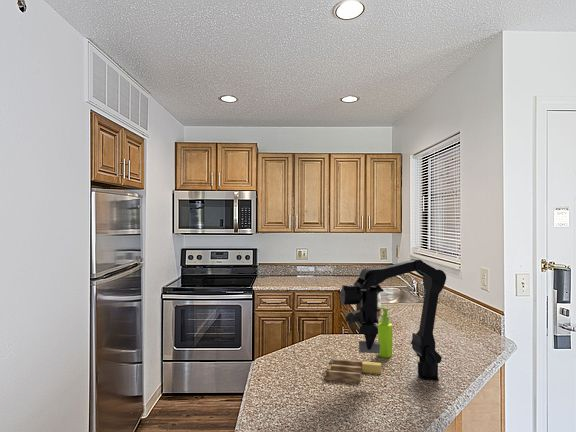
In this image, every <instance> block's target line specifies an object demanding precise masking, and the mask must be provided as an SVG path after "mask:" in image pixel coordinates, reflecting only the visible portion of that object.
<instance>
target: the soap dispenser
mask: <svg viewBox="0 0 576 432" xmlns="http://www.w3.org/2000/svg"><path fill="white" fill-rule="evenodd" d="M378 309H381V310H382V311H383V313H382V315H380V320H381V321H380V322H378V324H377V326H378V334H377V342H379V344H380V353H377V355H378V356H379V357H382V358H392V357H393V324H392V323H391V322H390V315H388V311H390V308H388V307H383V306H381V307H378Z"/></svg>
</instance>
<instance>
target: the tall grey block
mask: <svg viewBox="0 0 576 432" xmlns="http://www.w3.org/2000/svg"><path fill="white" fill-rule="evenodd" d="M358 351H359V354H361V353H363V354H366V353H367V354H378V353H380V344H379V342H378V341H374V343H373V345H372V348H371V350H368V349H367V344H366V340H364V341H363V340H359V341H358Z"/></svg>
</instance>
